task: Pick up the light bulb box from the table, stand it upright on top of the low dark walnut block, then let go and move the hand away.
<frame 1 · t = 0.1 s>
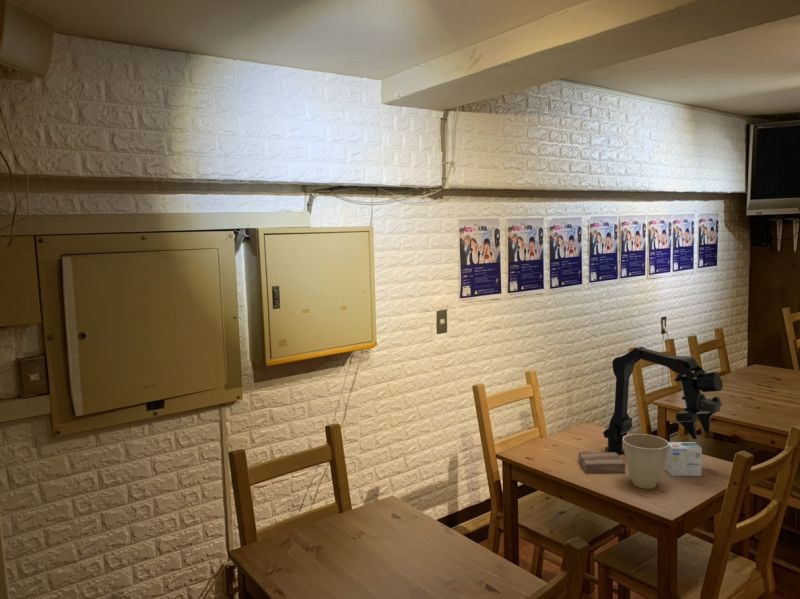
hand: (701, 436, 215), 15 cm above the table, tool pointing down, fingers open, 9 cm apart
light bulb box: (683, 473, 222), on the table
plant pot: (644, 485, 213), on the table
walnut block: (601, 468, 229), on the table
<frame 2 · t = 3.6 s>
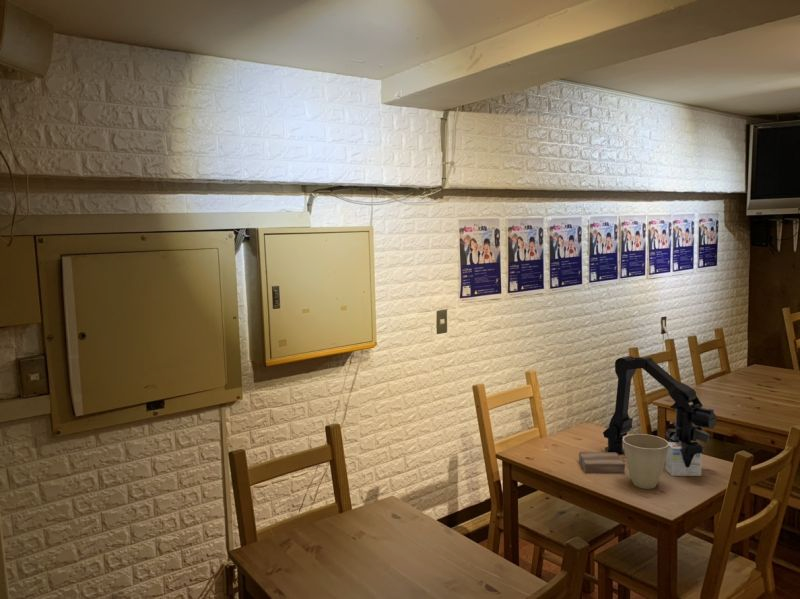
hand: (683, 463, 221), 4 cm above the table, tool pointing down, fingers closed on light bulb box, 7 cm apart
light bulb box: (683, 473, 222), on the table, touching gripper
everything else where it was.
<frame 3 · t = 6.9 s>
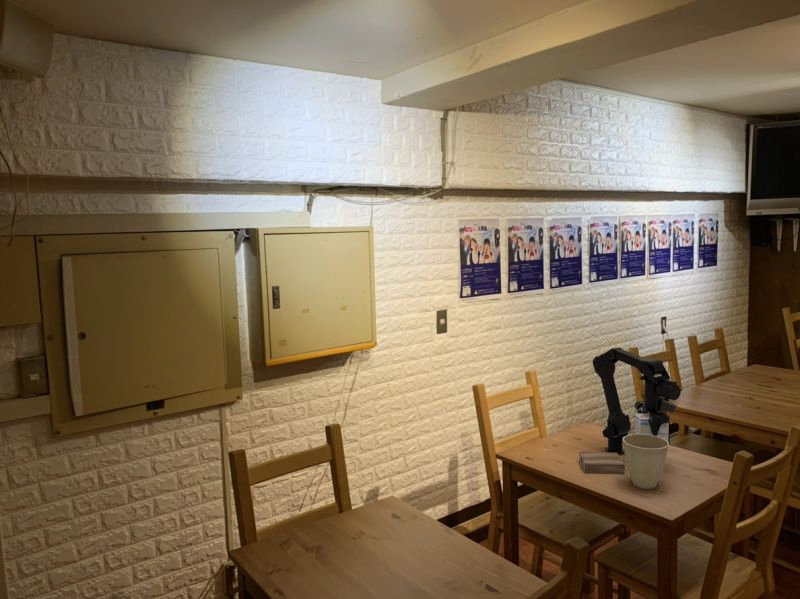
hand: (651, 433, 227), 13 cm above the table, tool pointing down, fingers closed on light bulb box, 7 cm apart
light bulb box: (650, 443, 227), point 9 cm above the table, touching gripper
everything else where it was.
when the fingers open (8 cm above the table, at t = 10.2 s): light bulb box drops 1 cm, resting on walnut block.
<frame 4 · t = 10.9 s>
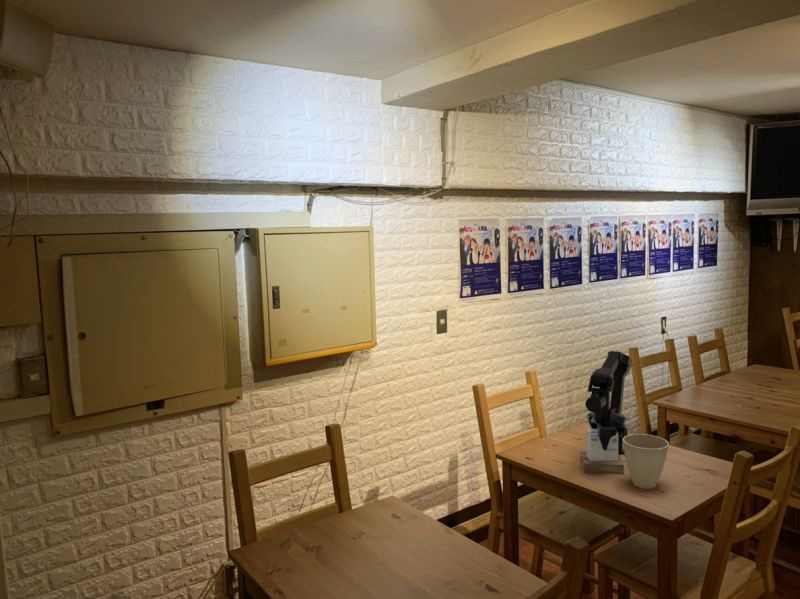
hand: (601, 445, 228), 8 cm above the table, tool pointing down, fingers open, 9 cm apart
light bulb box: (601, 458, 229), point 3 cm above the table, touching walnut block
walnut block: (601, 468, 229), on the table, touching light bulb box
everything else where it was.
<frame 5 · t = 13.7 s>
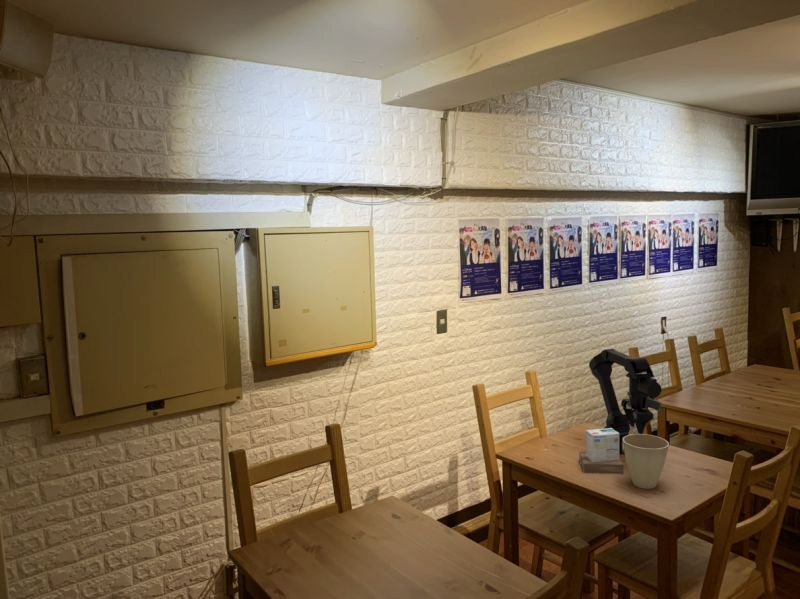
hand: (636, 430, 230), 13 cm above the table, tool pointing down, fingers open, 9 cm apart
at the end: light bulb box inside the target area on the walnut block (0.7 cm from its centre), point 3.8 cm above the walnut block's base; light bulb box tilted 0°; light bulb box touching walnut block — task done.
